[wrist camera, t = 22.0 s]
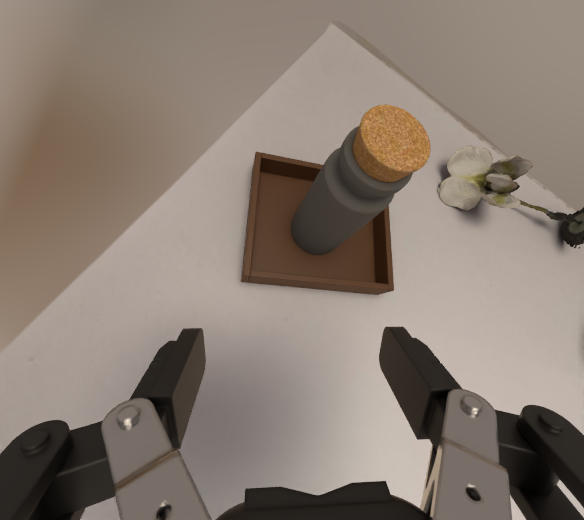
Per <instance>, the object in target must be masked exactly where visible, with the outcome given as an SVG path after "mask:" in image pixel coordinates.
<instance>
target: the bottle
mask: <svg viewBox="0 0 584 520" xmlns="http://www.w3.org/2000/svg"><path fill="white" fill-rule="evenodd" d="M429 156H430V141H429V138H428V135H427V133H426V131H425V129H424V128H423V126H422V125H421V124H420V122H419V121H418V120H417V119H416V118H415V117H413V116H412V115H411V114H410V113H408V112H407V111H405V110H403V109H401V108H398V107H395V106H391V105H379V106H376V107H373V108H371V109H369V110H368V111H367V112H366V113H365V114H364V116H363V117H362V120H361V123H360V125H359V126H358V127H356V128H354V129H353V130H352V131H351V132H350V133H349V134H348V135H347V137H346V138H345V140H344V142H343V144H342V146H341V148H339V149H337V150H335V151H334V152H333V153H332V154H331V155H330V156H329V157H328V159H327V160H326V162H325V164H324V165H323V167H322V168H321V170H320V172H319V173H318V175H317V177H316V179H315V180H314V182H313V184H312V185H311V187H310V189H309V191H308V192H307V194H306V196H305V198H304V199H303V201H302V203H301V204H300V206H299V208H298V210H297V211H296V213H295V215H294V217H293V219H292V223H291V233H292V236H293V239H294V241H295V242H296V244H297V245H298V246H299V247H300V248H301V249H302V250H304V251H305V252H308V253H310V254H314V255H324V254H327V253H329V252H331V251H333V250H334V249H335V248H337V247H338V246H339V245H341V244H342V243H343V242H344V241H346V240H347V239H348V238H349V237H351V236H352V235H353V234H355V233H356V232H357V231H358V230H360V229H361V228H362V227H363V226H364V225H366V224H367V223H368V222H369V221H371V220H372V219H373V218H374V217H375V216H377V215H378V214H379V213H380V212H382V211H383V210H384V209H385V208H386V207H387V206H388V205H389V204H390V202H391V201H392V199H393V196H394V194H395V193H396V192H398V191H399V190H401V189H402V188H403V187H404V186H405V185H406V184H407V183H408V182H409V180H410V179H411V177H412V174H413V172H415V171H417V170H419V169H420V168H422V167H423V166H424V165H425V164H426V162H427V160H428V158H429Z"/></svg>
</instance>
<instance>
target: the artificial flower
mask: <svg viewBox="0 0 584 520" xmlns="http://www.w3.org/2000/svg"><path fill="white" fill-rule="evenodd" d="M532 167H533V166H532V163H531V162H530V161H528V160H526V159H522V158H521V157H519V156H513V157H509V158H505V159H501V160H499V161H498V162H495V163H493V157H492V155H491V153H490V151H489V150H488V149H486V148H482V149H481V148H476V147H473V146H467V147H465V148H462V149H460V150H458V151H456V152H455V153H454V155H453V156H452V157H451V158H450V159H449V161H448V163H447V168H448V171H449V173H450V174H451V177H449V178H447V179H445V180H444V181H442V183H441V186H440V199H441V201H443V202H444V203H445V204H446V205H449V206H453V207H459V208H461V209H463V210H470V209H473V208H474V207H475V206H476V205H477V203H478V202H479V201H480V199H481V198H482V197H483V198H484V199H485V201H486V202H488V203H489V204H490V205H494V206H498V207H501V208H515V207H518V206H519V205H520V204H521V205H524V206H528V207H530V208H534V209H536V210H539V211H542V212H544V213H546V214H547V216H549V217H550V218H551V219H554V220H560V221H563V223H562V224H561V228H562V229H563V232H562V233H563V236H562V239H563V240H564V241H565V242H566V243H567V244H570V246H571V247H573V246H574V245H575V247H574V248H576V246H577V245H580V244H583V243H584V208H583V209H582V210H580V211H577V212H575V213H574V214H573V215H572V214H569V215H568V216H567V214H565V213H559V212H556V213H553V212H550V211H548V210H547V209H544V208H542V207H538V206H533V205H529V204H528V203H526V202H522V201H521V200H519V199H517V198H515V197H514V196H512V195H511V194H510V193H511V192H513V191H515V190H517V189H518V188H519V187H520V186H519V185H518V184H517V182H515V181H513V180H515V179H517V178H518V177H520V176H522V175H524V174H525V173H527V172H528V171H529V170H530V169H531V168H532ZM515 183H516V184H515ZM438 193H439V188H438ZM579 248H580V247H579Z"/></svg>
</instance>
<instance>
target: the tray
mask: <svg viewBox="0 0 584 520" xmlns="http://www.w3.org/2000/svg"><path fill="white" fill-rule="evenodd" d="M322 167H323V165H320V164H315V163H310V162H305V161H300V160H295V159H290V158H285V157H280V156H275V155H270V154H265V153H260V152H256V154H255V159H254V165H253V171H252V181H251V191H250V201H249V210H248V220H247V230H246V239H245V249H244V259H243V269H242V278H241V282H249V283H259V284H270V285H280V286H291V287H301V288H312V289H322V290H333V291H344V292H354V293H365V294H375V295H379V294H383V293H386V292H390V291H393V290H394V284H393V268H392V252H391V236H390V221H389V205H388V206H387V207H386V208H385V209H384V210H383V211H382V212H380V213H379V214H378V215H377V216H375V217H374V218H373V219H372V220H371V221H369V222H368V223H367V224H366V225H364V226H363V227H362V228H361V229H360V230H358V231H357V232H356V233H355V234H353V235H352V236H351V237H349V238H348V239H347V240H346V241H344V242H343V243H342V244H341V245H339V246H338V247H337V248H335V249H334V250H333V251H331V252H329V253H327V254H324V255H314V254H310V253H308V252H305V251H304V250H302V249H301V248H300V247H299V246H298V245H297V244H296V242H295V241H294V239H293V236H292V233H291V223H292V219H293V217H294V215H295V213H296V211H297V210H298V208H299V206H300V204H301V203H302V201H303V199H304V198H305V196H306V194H307V192H308V191H309V189H310V187H311V185H312V184H313V182H314V180H315V179H316V177H317V175H318V173H319V172H320V170H321V168H322Z"/></svg>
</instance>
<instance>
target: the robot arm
mask: <svg viewBox="0 0 584 520" xmlns="http://www.w3.org/2000/svg"><path fill="white" fill-rule="evenodd" d="M205 362H206V358H205V347H204V336H203V330H202V328H191V329H183V330H182V331H181V333H180V335H179V337H178V339H177V341H169V342H167V343H166V344H165V345H164V346H163V347H161V348H160V349H159V350H158V352H157V354H156V355H155V357H154V360H153V361H152V362H151V364H150V366H149V369H147V371H146V372H145V374H144V376H143V377H142V379H141V381H140V383H139V384H138V386H137V388H136V389H135V391H134V393H133V394H132V396H131V398H130V399H129V400H128V401H125V402H123V403H121V404H119V405H118V406H116V407H115V408H113V409H112V410H111V411H110V412H109V413H108V414H107V415H106V417H105V418H104V420H103V421H101V422H98V423H95V424H91V425H88V426H84V427H81V428H77V429H74V430H71V431H70V429H69V426H68V425H67V423H66V422H64V421H61V420H52V421H47V422H43V423H40V424H38V425H36V426H33V427H31V428H30V429H28V430H26V431H25V432H23V433H22V434H20V435H19V436H18V437H16V438H15V439H14V440H13V441H12V442H11V443H10V444H9V445H8V446H7V447H6V448H5V450H4V451H3V452H2V453H1V454H0V520H80V518H81V516H82V514H83V512H84V510H85V508H86V507H88V506H91V505H94V504H96V503H99V502H101V501H104V500H107V499H109V498H112V497H114V496H115V497H116V501H117V506H118V510H119V514H120V519H121V520H212V519H211V517H210V515H209V513H208V511H207V509H206V507H205V505H204V502H203V500H202V498H201V496H200V494H199V492H198V490H197V488H196V486H195V483H194V481H193V479H192V477H191V475H190V473H189V471H188V469H187V467H186V464H185V462H184V460H183V458H182V456H181V454H180V452H179V450H178V449H180V447H181V443H182V440H183V437H184V434H185V431H186V428H187V425H188V422H189V418H190V415H191V412H192V409H193V406H194V403H195V400H196V396H197V393H198V390H199V387H200V384H201V381H202V378H203V374H204V371H205ZM379 362H380V367H381V370H382V372H383V374H384V376H385V378H386V379H387V381H388V383H389V385H390V387H391V389H392V391H393V393H394V395H395V397H396V399H397V401H398V403H399V405H400V407H401V409H402V411H403V413H404V414H405V416H406V418H407V420H408V422H409V424H410V426H411V428H412V430H413V432H414V434H415V436H416V438H417V439H430V441H431V443H432V444H433V445H432V448H431V452H430V458H429V463H428V469H427V475H426V480H425V486H424V491H423V497H422V502H421V506H420V509H419V508H418V507H416V506H415V505H413V504H412V503H410V502H408V501H406V500H404V499H402V498H399V497H396V496H394V495H390V492H389V489H388V486H387V484H386V481H379V482H360V483H351V484H348V485H346V486H343V487H340V488H338V489H335V490H333V491H330V492H328V493H325V494H322V495H312V494H308V493H304V492H300V491H296V490H292V489H288V488H284V487H268V488H250V489H246V490H245V502H243V503H241V504H238V505H236V506H234V507H232V508H230V509H229V510H227V511H226V512H224V513H223V514H222V515H220V516H219V517H218V518H217V519H216V520H512V513H511V502H510V495H511V497H512V498H513V500H514V501H515V503H516V504H517V506H518V507H519V509H520V510H521V512H522V513H523V515H524V516H525V518H526V519H527V520H584V518H583V517H582V515H581V514H580V513H579V512H578V510H577V509H576V508H575V507H574V506H573V504H572V503H571V502H570V501H569V499H568V498H567V497H566V496H565V495H564V493H563V492H562V491H561V490H560V488H559V487H558V486H557V483H558V481H559V479H560V480H561V481H562V482H563V483H564V485H565V486H566V487H567V488H568V489H569V491H570V492H571V493H572V494H573V495H574V497H575V498H576V499H577V500H578V501H579V502H580V504H581V505H582V506H583V508H584V435H583V434H582V433H581V432H580V431H579V430H578V429H577V428H576V427H574V426H573V425H572V424H571V423H570V422H569V421H568V420H566V419H565V418H564V417H562V416H561V415H559V414H557V413H555V412H554V411H551V410H549V409H547V408H544V407H541V406H536V405H528V406H525V407H524V408H523V409H522V412H521V414H520V415H515V414H511V413H507V412H502V411H498V410H494V408H493V407H492V406H491V405H490V403H488V402H487V401H486V400H485V399H484V398H482V397H481V396H479V395H477V394H476V393H473V392H471V391H468V390H464V389H462V388H461V387H460V385H459V384H458V383H457V382H456V381H455V379H454V378H453V377H452V376H451V374H450V373H449V372H448V371H447V370H446V368H445V367H444V366H443V365H442V363H441V364H440V361H439V360H438V359H437V357H436V356H434V354H433V353H432V351H431V350H430V349H429V348H428V346H427V345H425V344H424V343H422V342H421V341H420V340H418V339H417V338H412V337H411V336H410V334H409V333H408V332H407V330H406V329H405V328H404V327H385V329H384V331H383V337H382V342H381V348H380V354H379Z"/></svg>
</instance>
